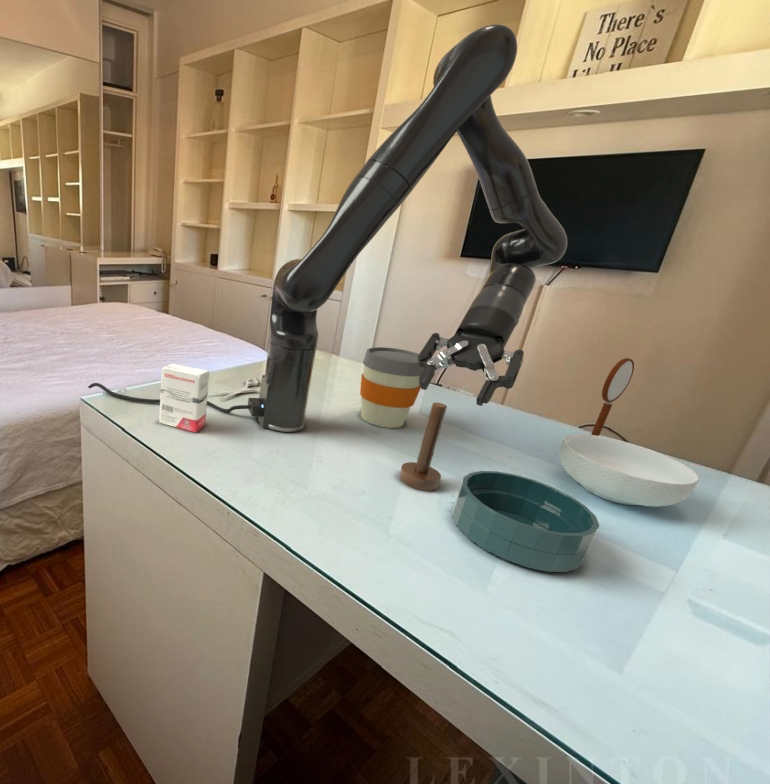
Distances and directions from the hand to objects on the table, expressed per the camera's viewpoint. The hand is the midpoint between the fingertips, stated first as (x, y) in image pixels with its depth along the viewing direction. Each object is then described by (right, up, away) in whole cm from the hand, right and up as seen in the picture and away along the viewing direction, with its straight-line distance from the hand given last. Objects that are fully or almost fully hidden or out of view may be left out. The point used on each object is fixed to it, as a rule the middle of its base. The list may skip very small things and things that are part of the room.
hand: (449, 394), depth 74 cm
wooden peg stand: (-4, -15, +3) cm, 15 cm away
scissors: (-29, 0, +38) cm, 48 cm away
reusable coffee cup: (+1, -6, +27) cm, 28 cm away
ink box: (-44, -6, +18) cm, 48 cm away
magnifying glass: (+37, -12, +17) cm, 43 cm away
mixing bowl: (+3, -20, -10) cm, 22 cm away
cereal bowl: (+29, -17, +3) cm, 34 cm away
